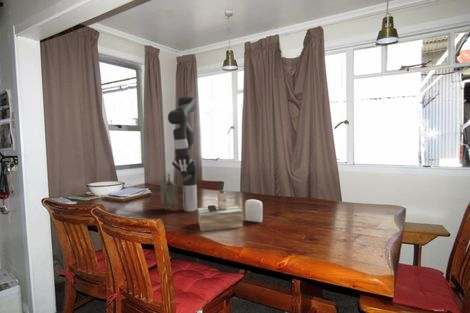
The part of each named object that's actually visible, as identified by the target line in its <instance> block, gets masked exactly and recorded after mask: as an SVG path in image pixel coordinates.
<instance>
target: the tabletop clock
mask: <svg viewBox="0 0 470 313" xmlns="http://www.w3.org/2000/svg"><path fill="white" fill-rule="evenodd" d="M167 176H168V177H167V180H166V181H165V182H164V184H162V185H160V199H161V200H160V201H161V205H162V206H163V207H166V208H165V209H164V210H165V211H166V210H167V211H168V210H169V208H168V207H170V208H171V209H173V212H177V208H175V206H178V203H179V202H178V186H177V183H174V182H173V181H172V180H171V179H170V177H171V175H170V173H167Z"/></svg>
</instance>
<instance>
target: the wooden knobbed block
mask: <svg viewBox="0 0 470 313" xmlns="http://www.w3.org/2000/svg"><path fill="white" fill-rule="evenodd" d="M217 203H218V204H217V207H218V209H219V210H226V209H227V206H228V205H227V192H225V190H224V189H221V190H219V192H217Z"/></svg>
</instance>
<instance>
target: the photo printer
mask: <svg viewBox="0 0 470 313" xmlns="http://www.w3.org/2000/svg"><path fill="white" fill-rule="evenodd" d="M244 205H245V206H244V211H245V216H244V218H245V221H247V222H248V221H249V222H253V223H262V222H263V220H264V219H263V218H264V217H263V202H262V201H261V200H258V199H253V198H252V199H247V200H245V203H244Z"/></svg>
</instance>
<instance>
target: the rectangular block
mask: <svg viewBox="0 0 470 313" xmlns="http://www.w3.org/2000/svg"><path fill="white" fill-rule="evenodd" d="M197 211H198V215H197V216H198V226H199V229H200V231H201V232H205V231H213V230H214V229H216V230H225V229H236V228H243V213H244V211H243V210H242V209H241V208H240V207H239V206H238V205H235V204H234V205H227V209H226V210H219V209H218V206H216V205H215V204H213V205H207V207H206V206H205V207H197Z"/></svg>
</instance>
